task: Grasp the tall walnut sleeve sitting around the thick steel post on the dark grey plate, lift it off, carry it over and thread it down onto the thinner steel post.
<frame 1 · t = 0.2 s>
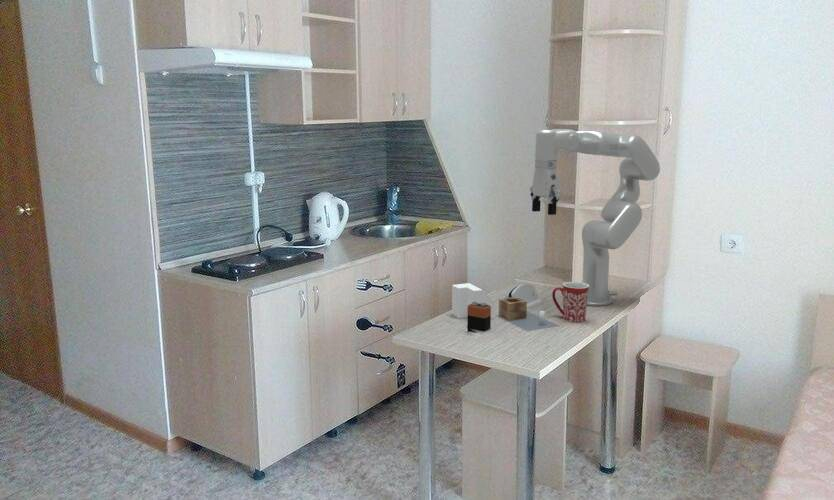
hand: (543, 212, 243), 36 cm above the table, tool pointing down, fingers open, 9 cm apart
mug: (569, 322, 236), on the table
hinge: (523, 309, 253), on the table
peg stand: (526, 323, 234), on the table
corner bracket: (472, 320, 240), on the table
battery: (478, 332, 226), on the table
ring: (512, 316, 238), point 1 cm above the table, touching peg stand
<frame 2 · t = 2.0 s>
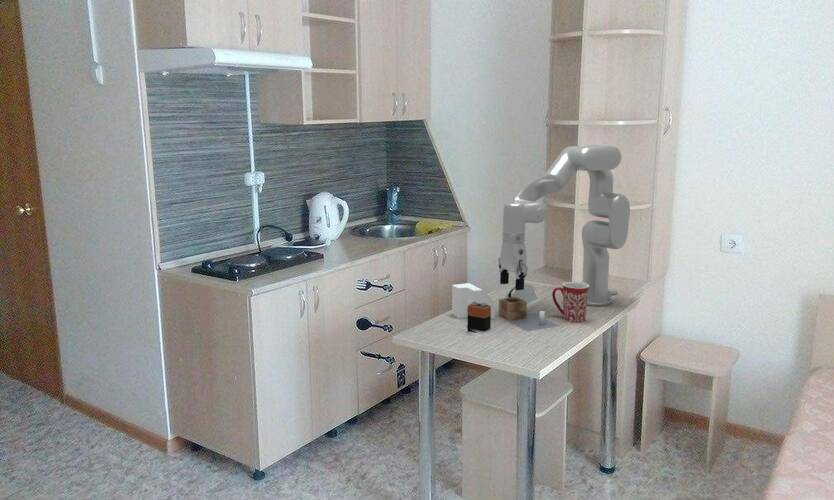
hand: (511, 286, 236), 12 cm above the table, tool pointing down, fingers open, 9 cm apart
nothing on the table moved.
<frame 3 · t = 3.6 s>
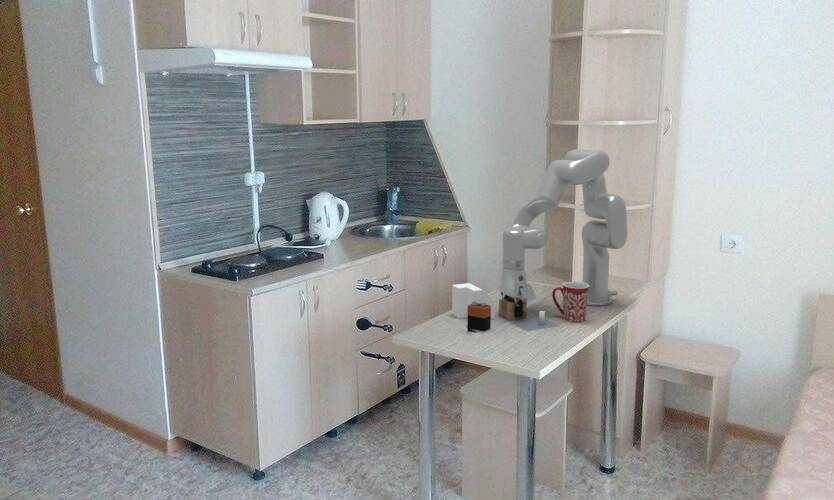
hand: (512, 313, 238), 2 cm above the table, tool pointing down, fingers closed on ring, 7 cm apart
ring: (512, 316, 238), point 1 cm above the table, touching gripper, peg stand
everything else where it was.
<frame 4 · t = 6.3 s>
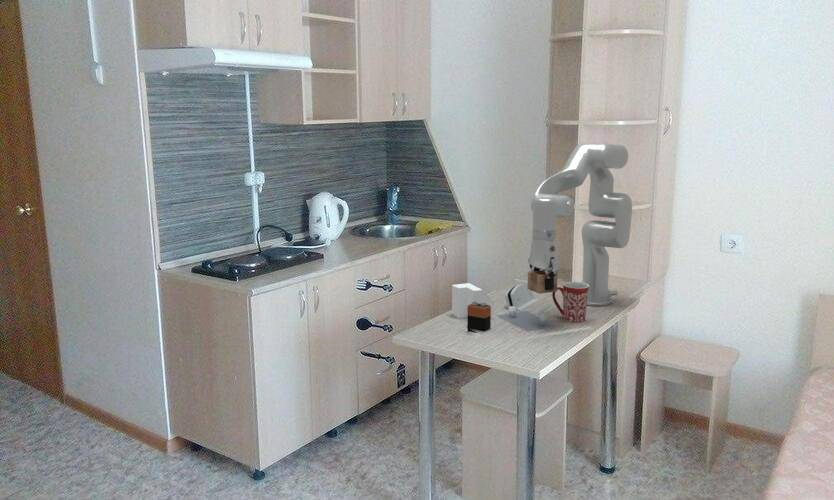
hand: (542, 286, 227), 14 cm above the table, tool pointing down, fingers closed on ring, 7 cm apart
ring: (542, 290, 227), point 13 cm above the table, touching gripper
everything else where it was.
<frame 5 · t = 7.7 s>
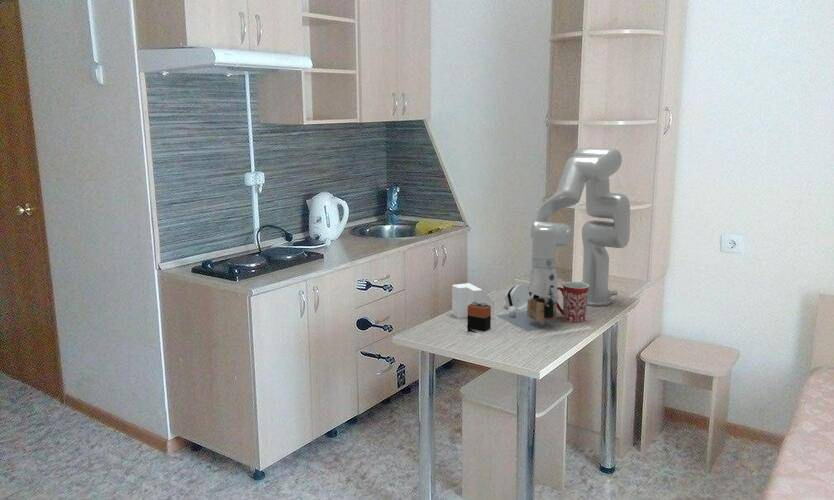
hand: (541, 314, 228), 5 cm above the table, tool pointing down, fingers closed on ring, 7 cm apart
ring: (541, 317, 229), point 4 cm above the table, touching gripper
when the fingers open (4 cm above the table, at t = 8.8 s): ring drops 1 cm, resting on peg stand.
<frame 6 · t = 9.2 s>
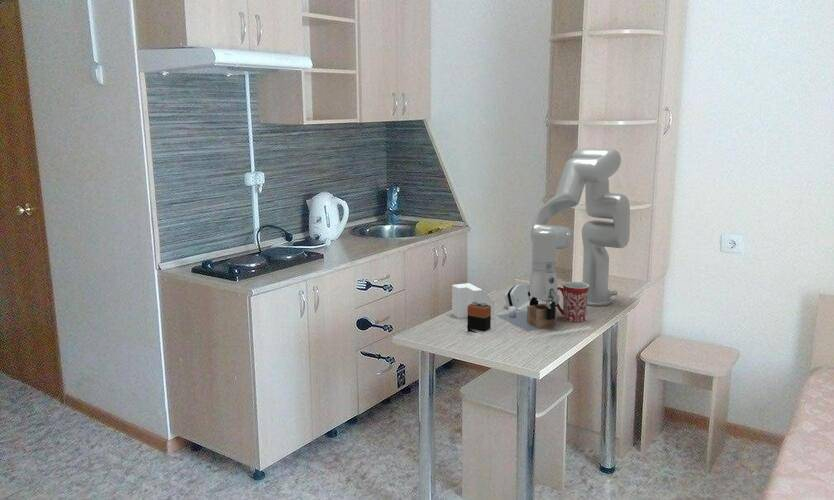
hand: (542, 315, 229), 4 cm above the table, tool pointing down, fingers open, 9 cm apart
ring: (541, 324, 229), point 1 cm above the table, touching peg stand
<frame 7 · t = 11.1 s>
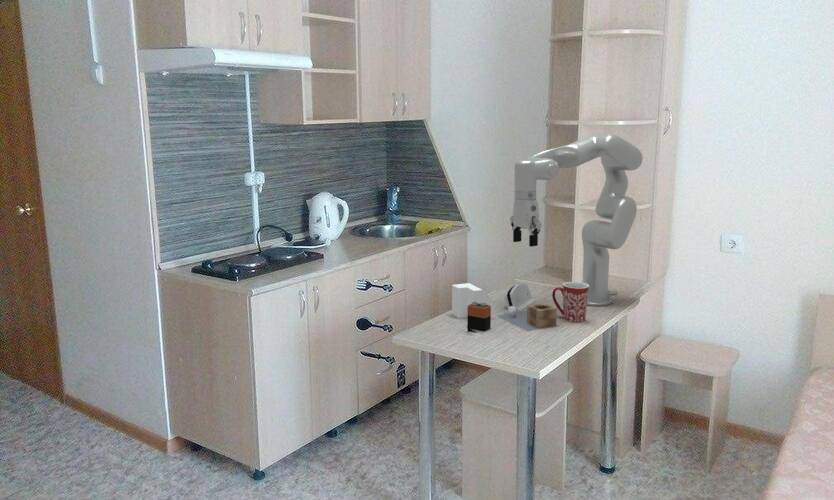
hand: (525, 243, 239), 26 cm above the table, tool pointing down, fingers open, 9 cm apart
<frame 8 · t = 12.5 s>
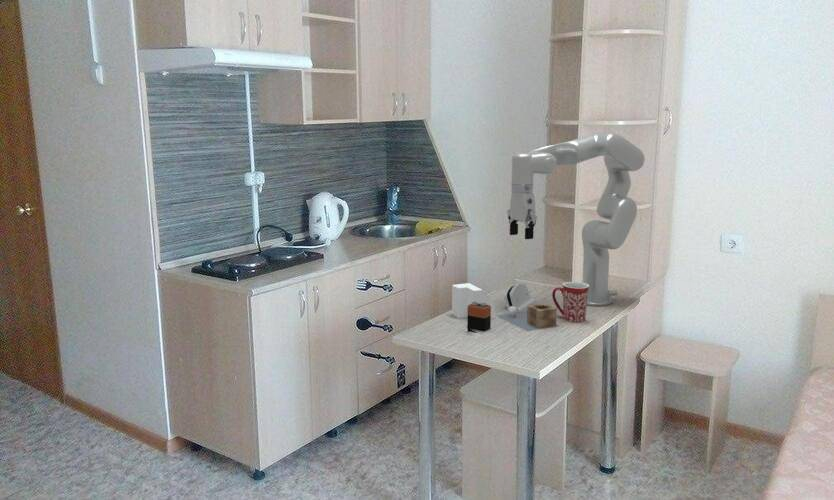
hand: (521, 236, 241), 28 cm above the table, tool pointing down, fingers open, 9 cm apart
at the end: ring 0.1 cm from the target spot on the peg stand, point 1.2 cm above the peg stand's base; ring tilted 0°; the gripper is holding nothing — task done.
